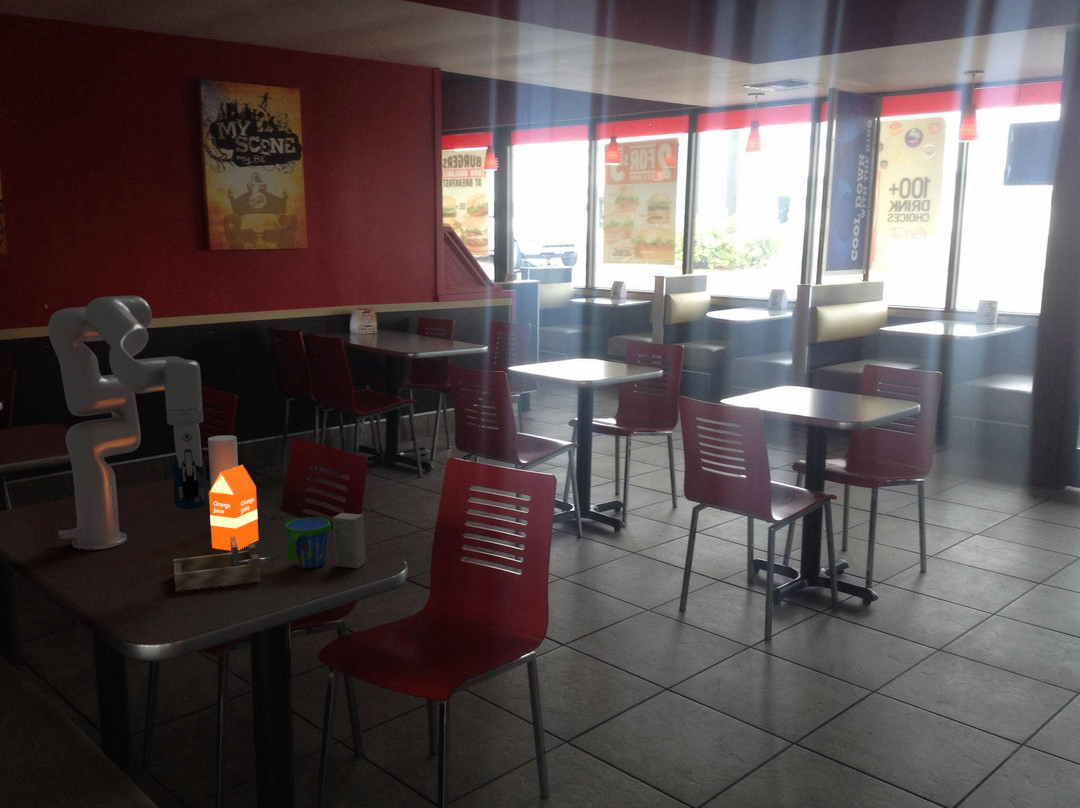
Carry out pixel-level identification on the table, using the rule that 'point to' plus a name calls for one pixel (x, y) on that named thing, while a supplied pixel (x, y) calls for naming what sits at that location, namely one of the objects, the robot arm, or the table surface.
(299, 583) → the table surface
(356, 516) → the skincare box
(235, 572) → the wooden tray
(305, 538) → the snack cup
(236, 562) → the follower
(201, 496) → the soda can
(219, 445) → the cylindrical container
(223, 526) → the orange juice
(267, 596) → the table surface
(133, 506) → the table surface
